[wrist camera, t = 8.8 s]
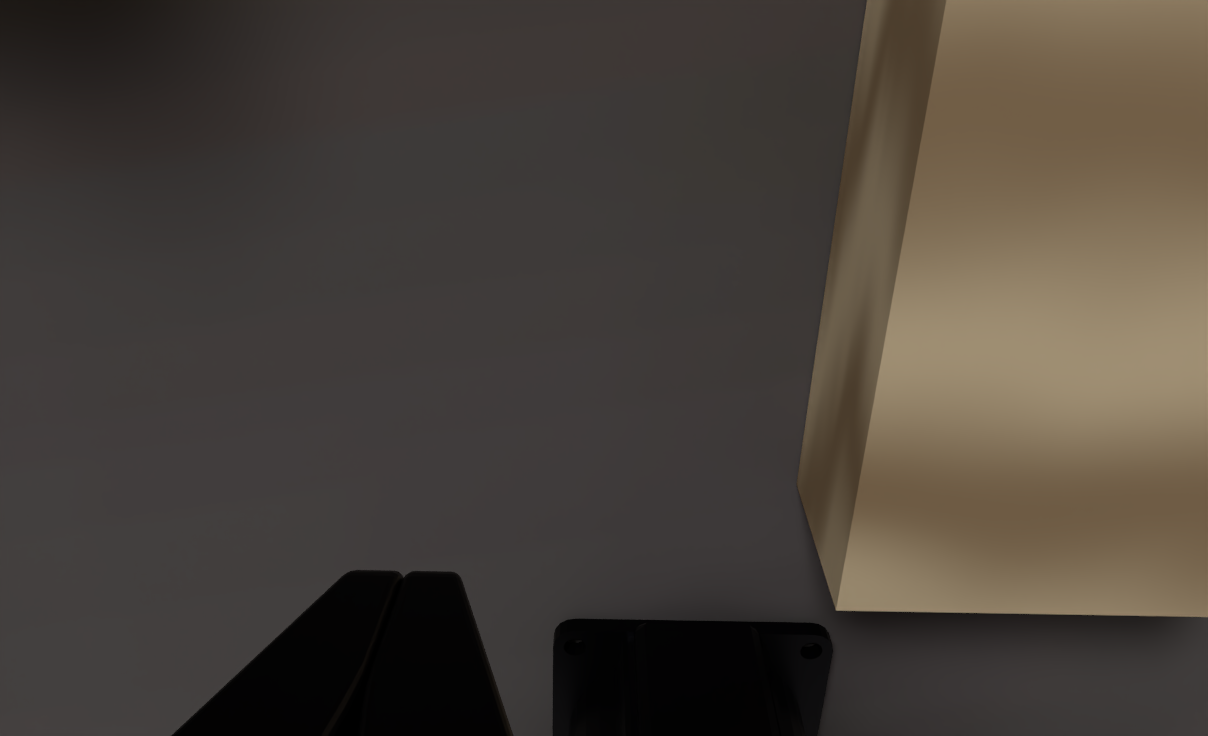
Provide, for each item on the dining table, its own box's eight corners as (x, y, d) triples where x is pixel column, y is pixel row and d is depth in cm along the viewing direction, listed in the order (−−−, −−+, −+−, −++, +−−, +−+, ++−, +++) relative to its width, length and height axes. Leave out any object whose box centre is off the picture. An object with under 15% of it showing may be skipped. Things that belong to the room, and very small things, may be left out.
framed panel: (1159, 491, 22) (1268, 618, 18) (796, 484, 22) (836, 610, 18) (1550, -613, 13) (1894, -774, 10) (960, -638, 13) (1092, -812, 10)
